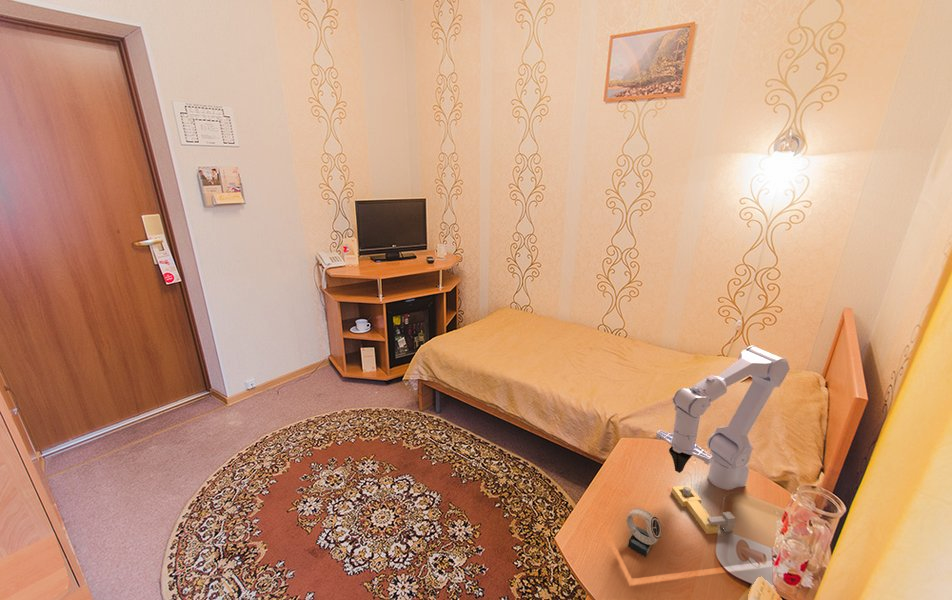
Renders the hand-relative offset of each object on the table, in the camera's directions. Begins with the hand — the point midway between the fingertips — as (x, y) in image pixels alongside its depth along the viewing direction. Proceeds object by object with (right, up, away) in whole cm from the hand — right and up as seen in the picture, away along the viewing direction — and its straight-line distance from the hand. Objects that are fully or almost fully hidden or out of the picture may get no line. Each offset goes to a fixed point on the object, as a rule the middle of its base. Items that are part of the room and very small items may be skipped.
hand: (679, 470), depth 111 cm
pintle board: (0, -11, -2) cm, 11 cm away
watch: (-16, -15, -12) cm, 25 cm away
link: (+3, -10, -3) cm, 11 cm away
